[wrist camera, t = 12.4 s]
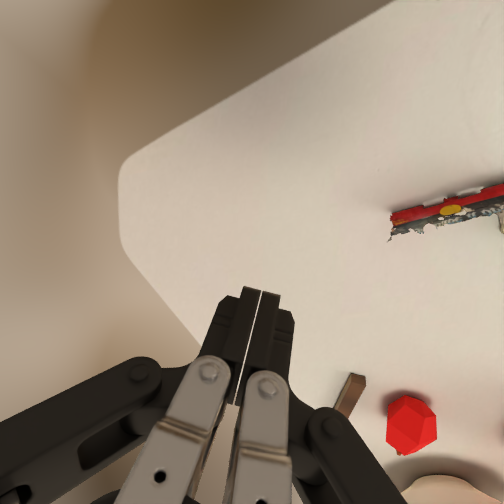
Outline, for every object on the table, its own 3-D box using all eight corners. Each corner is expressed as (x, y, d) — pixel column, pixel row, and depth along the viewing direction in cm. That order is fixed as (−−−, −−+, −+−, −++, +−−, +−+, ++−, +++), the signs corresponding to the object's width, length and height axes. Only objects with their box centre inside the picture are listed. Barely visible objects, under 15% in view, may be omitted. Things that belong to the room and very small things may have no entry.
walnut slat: (344, 416, 55) (344, 425, 54) (331, 412, 55) (331, 421, 54) (365, 376, 49) (366, 385, 48) (351, 372, 49) (351, 382, 48)
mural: (396, 267, 39) (404, 303, 34) (379, 211, 36) (385, 241, 31) (527, 239, 34) (557, 275, 30) (521, 171, 31) (553, 199, 27)
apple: (411, 416, 44) (384, 466, 46) (458, 427, 45) (430, 475, 47) (385, 380, 50) (363, 425, 52) (427, 390, 52) (403, 434, 54)
